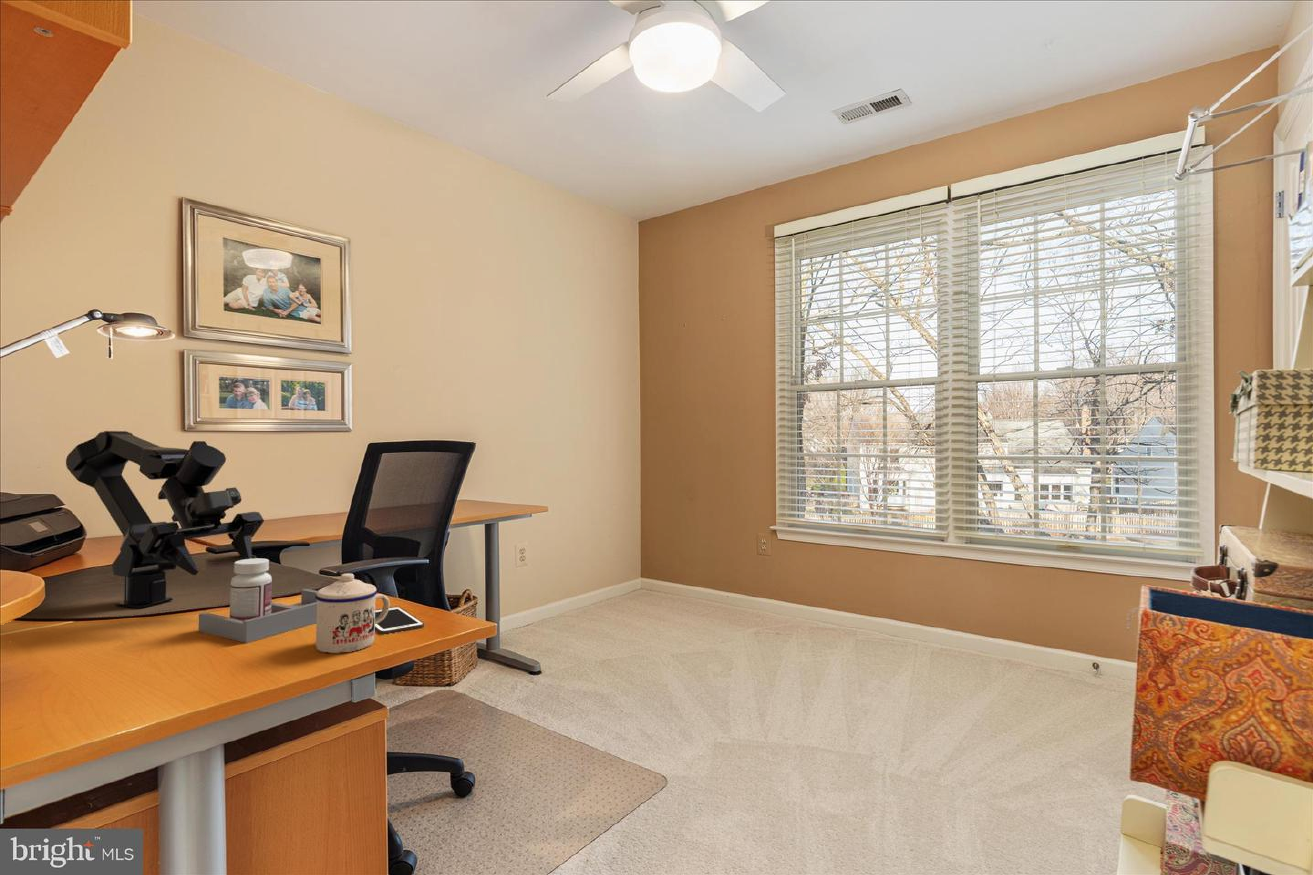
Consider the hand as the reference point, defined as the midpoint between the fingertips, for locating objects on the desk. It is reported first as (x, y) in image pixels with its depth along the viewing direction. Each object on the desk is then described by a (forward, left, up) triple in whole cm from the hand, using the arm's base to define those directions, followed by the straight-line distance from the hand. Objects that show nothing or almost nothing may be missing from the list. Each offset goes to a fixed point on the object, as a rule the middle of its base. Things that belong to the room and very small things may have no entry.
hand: (224, 568), depth 113 cm
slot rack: (+9, +3, -10) cm, 13 cm away
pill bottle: (+8, -2, -9) cm, 12 cm away
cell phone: (+28, +9, -10) cm, 31 cm away
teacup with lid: (+30, -3, -10) cm, 32 cm away
